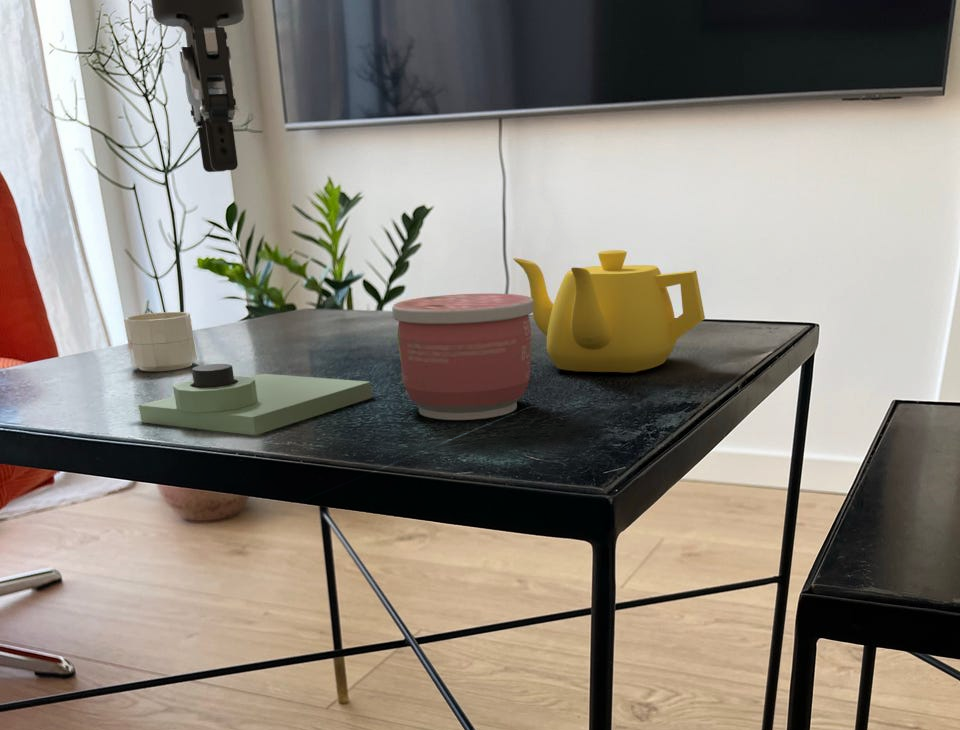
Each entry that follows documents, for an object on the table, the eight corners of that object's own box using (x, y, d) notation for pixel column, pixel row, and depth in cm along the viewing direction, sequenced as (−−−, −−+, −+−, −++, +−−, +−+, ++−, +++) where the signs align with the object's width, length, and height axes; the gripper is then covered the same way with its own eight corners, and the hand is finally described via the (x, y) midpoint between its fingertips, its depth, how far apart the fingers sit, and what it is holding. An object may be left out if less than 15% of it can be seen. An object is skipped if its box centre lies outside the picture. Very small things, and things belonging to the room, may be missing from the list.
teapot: (514, 363, 97) (511, 252, 93) (640, 349, 101) (642, 242, 96) (575, 386, 85) (574, 260, 81) (714, 369, 89) (720, 248, 85)
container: (457, 391, 85) (452, 291, 82) (562, 403, 79) (561, 295, 76) (371, 416, 78) (362, 307, 74) (480, 431, 72) (475, 313, 68)
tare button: (215, 392, 75) (211, 371, 74) (186, 390, 77) (182, 369, 76) (243, 385, 77) (240, 364, 77) (215, 383, 79) (211, 362, 78)
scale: (251, 437, 73) (245, 395, 72) (137, 424, 79) (129, 385, 78) (372, 398, 84) (369, 361, 83) (264, 389, 90) (259, 354, 89)
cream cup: (164, 374, 100) (155, 321, 98) (120, 370, 103) (110, 319, 101) (211, 363, 105) (203, 312, 103) (167, 360, 108) (159, 311, 106)
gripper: (142, -28, 89) (173, 174, 96) (147, -63, 77) (182, 171, 84) (228, -27, 91) (253, 170, 98) (246, -62, 79) (273, 167, 86)
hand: (220, 171), depth 91 cm, fingers open, 8 cm apart
